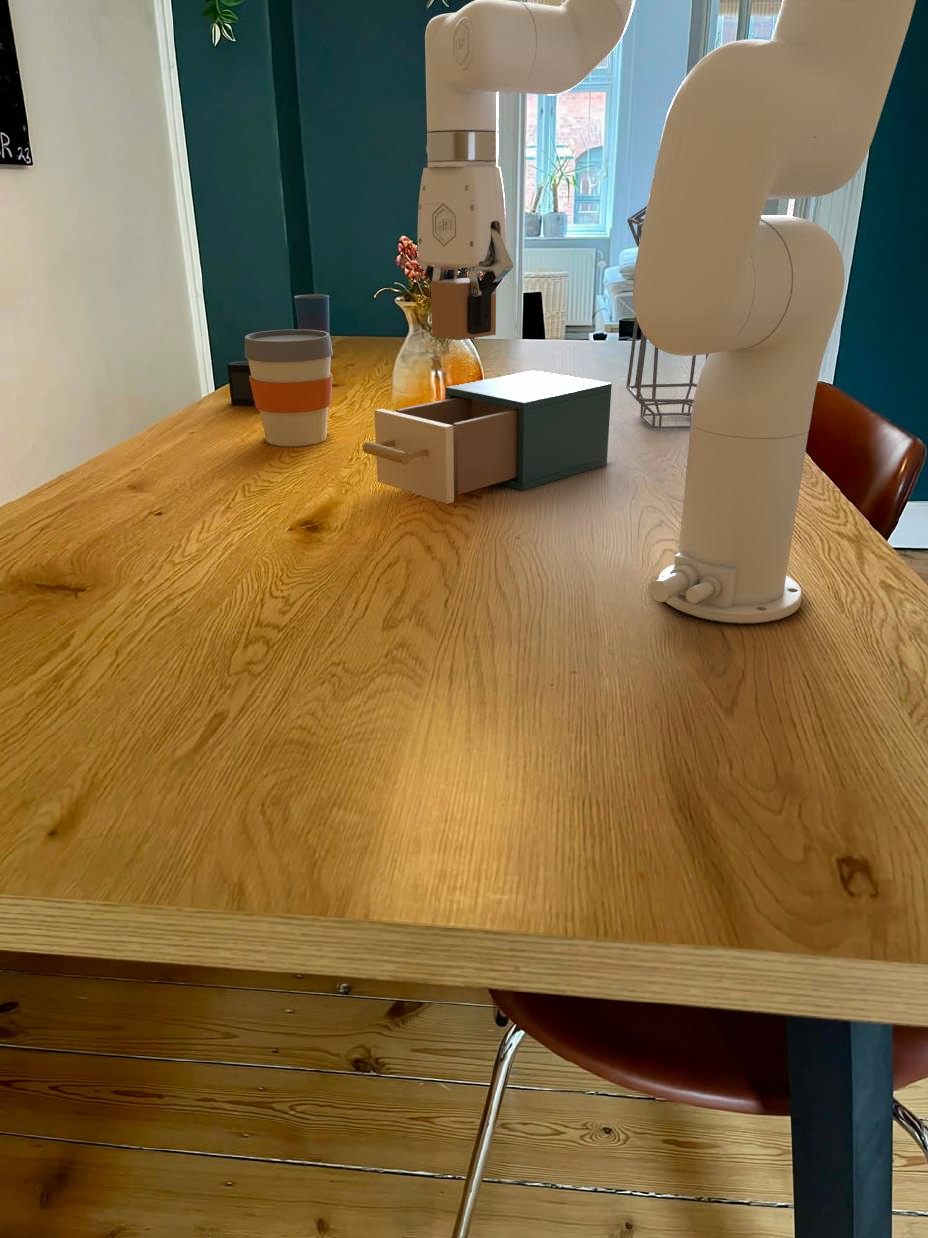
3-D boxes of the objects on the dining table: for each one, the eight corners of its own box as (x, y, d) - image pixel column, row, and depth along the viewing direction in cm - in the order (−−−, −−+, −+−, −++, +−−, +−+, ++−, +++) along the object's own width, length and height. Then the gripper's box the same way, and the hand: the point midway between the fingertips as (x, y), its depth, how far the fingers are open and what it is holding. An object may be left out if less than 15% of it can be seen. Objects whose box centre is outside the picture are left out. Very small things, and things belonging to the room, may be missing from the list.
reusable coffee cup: (354, 433, 140) (348, 331, 133) (308, 453, 130) (299, 343, 123) (285, 425, 145) (276, 327, 138) (236, 444, 134) (224, 338, 128)
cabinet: (522, 490, 113) (524, 402, 108) (446, 469, 122) (444, 386, 117) (607, 464, 123) (611, 383, 119) (531, 446, 132) (533, 370, 128)
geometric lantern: (632, 435, 138) (650, 177, 123) (613, 412, 152) (627, 178, 137) (735, 433, 138) (766, 176, 123) (707, 411, 152) (731, 178, 137)
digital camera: (227, 406, 158) (223, 365, 155) (240, 400, 163) (235, 359, 160) (284, 408, 156) (281, 366, 153) (295, 401, 161) (292, 361, 158)
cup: (296, 372, 187) (290, 295, 181) (328, 369, 190) (323, 293, 184) (305, 378, 182) (299, 298, 175) (338, 375, 184) (333, 296, 178)
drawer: (419, 512, 102) (417, 433, 99) (350, 488, 111) (345, 415, 107) (537, 476, 115) (539, 405, 111) (467, 458, 123) (467, 391, 119)
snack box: (496, 334, 106) (496, 279, 103) (458, 340, 102) (457, 283, 99) (469, 330, 109) (468, 277, 106) (431, 336, 105) (430, 280, 102)
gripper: (385, 154, 101) (391, 326, 108) (494, 149, 89) (492, 341, 97) (435, 155, 105) (438, 320, 113) (545, 150, 94) (539, 334, 102)
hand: (463, 328), depth 105 cm, fingers closed on snack box, 4 cm apart
